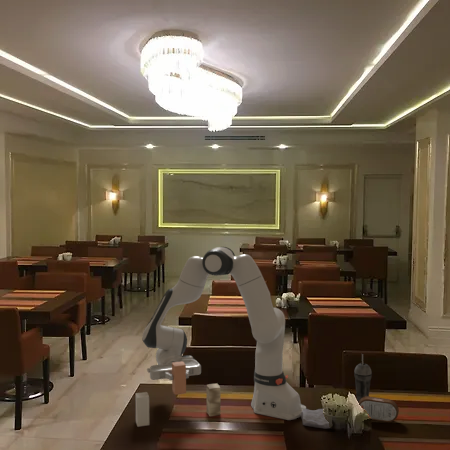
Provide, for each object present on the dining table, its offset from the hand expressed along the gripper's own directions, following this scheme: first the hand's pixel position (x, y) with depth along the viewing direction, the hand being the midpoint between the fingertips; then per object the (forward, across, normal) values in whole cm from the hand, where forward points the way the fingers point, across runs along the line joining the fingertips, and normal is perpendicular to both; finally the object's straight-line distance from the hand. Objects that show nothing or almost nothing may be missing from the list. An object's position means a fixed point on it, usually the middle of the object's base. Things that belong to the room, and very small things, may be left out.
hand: (179, 377), depth 197 cm
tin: (+24, +72, +17) cm, 78 cm away
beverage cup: (+6, +77, +17) cm, 79 cm away
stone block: (+19, +49, +17) cm, 55 cm away
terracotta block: (-1, 0, +6) cm, 6 cm away
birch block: (-1, +14, +16) cm, 21 cm away
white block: (-1, -14, +16) cm, 22 cm away
